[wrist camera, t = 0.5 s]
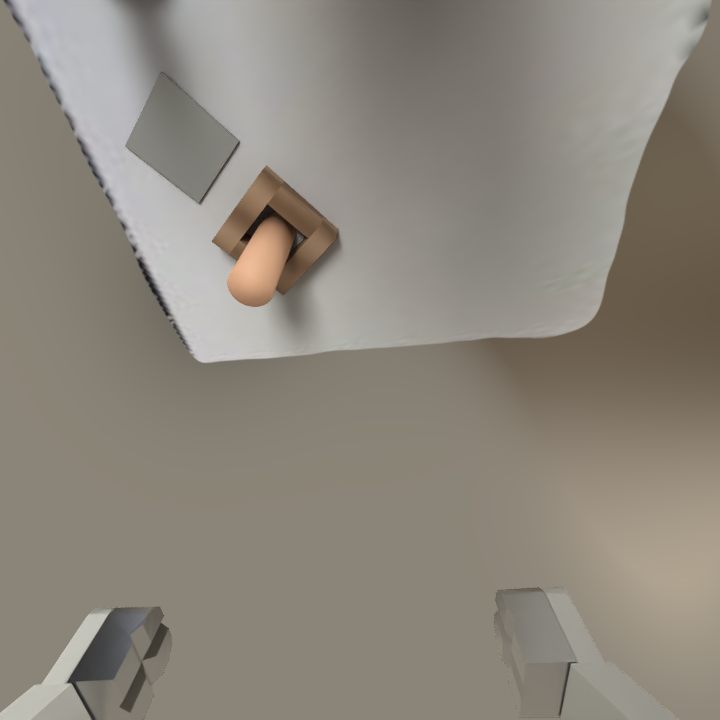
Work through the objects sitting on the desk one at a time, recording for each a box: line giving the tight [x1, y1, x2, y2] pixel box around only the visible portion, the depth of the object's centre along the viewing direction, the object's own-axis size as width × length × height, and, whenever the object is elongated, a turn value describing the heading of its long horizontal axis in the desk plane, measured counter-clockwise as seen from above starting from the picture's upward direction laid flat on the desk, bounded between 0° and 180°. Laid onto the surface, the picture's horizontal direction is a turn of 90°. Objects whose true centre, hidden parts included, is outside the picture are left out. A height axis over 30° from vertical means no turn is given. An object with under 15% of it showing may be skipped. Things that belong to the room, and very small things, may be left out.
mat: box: [125, 72, 239, 203], centre depth 48 cm, size 10×10×1 cm
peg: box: [227, 213, 296, 307], centre depth 49 cm, size 5×5×16 cm
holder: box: [212, 166, 338, 295], centre depth 54 cm, size 12×12×3 cm
